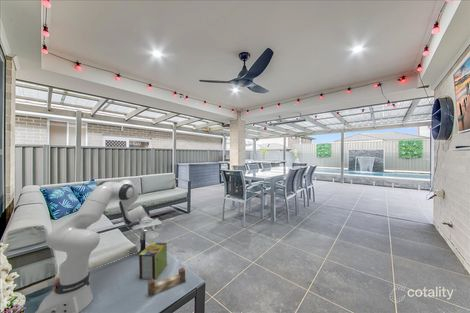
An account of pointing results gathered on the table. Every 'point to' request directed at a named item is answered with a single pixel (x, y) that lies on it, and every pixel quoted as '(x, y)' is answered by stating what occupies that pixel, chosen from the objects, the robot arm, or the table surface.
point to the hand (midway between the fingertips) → (149, 230)
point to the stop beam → (166, 283)
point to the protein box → (152, 260)
